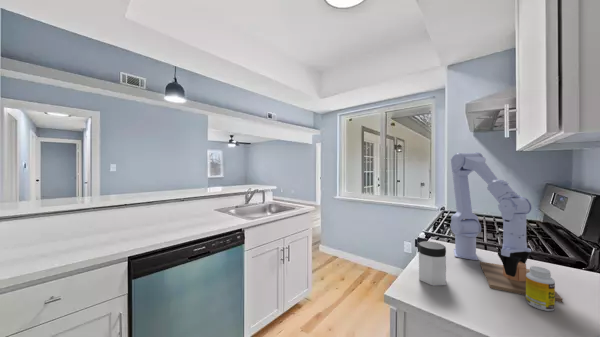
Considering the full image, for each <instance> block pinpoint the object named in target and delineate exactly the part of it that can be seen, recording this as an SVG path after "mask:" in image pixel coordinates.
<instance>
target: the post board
mask: <svg viewBox="0 0 600 337" xmlns="http://www.w3.org/2000/svg"><path fill="white" fill-rule="evenodd" d="M479 266H480V267H481V270H482V272H483V275H484V277H485V279H486V281H487V282H486V283H488V286H489V288H490V289H493V290H494V289H495V290H498V291H504V292H509V293H514V294H518V295H523V296H526V281H515V280H512V279H508V278H507V277H505V276H503V264H499V263H492V262H486V261H479ZM529 272H530V268H526V274H527V273H529ZM563 301H564V300H563V298H562V297H561V295H559V293H558V292H557V291H556V290H555V302H557V303H558V302H559V303H563Z"/></svg>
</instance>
